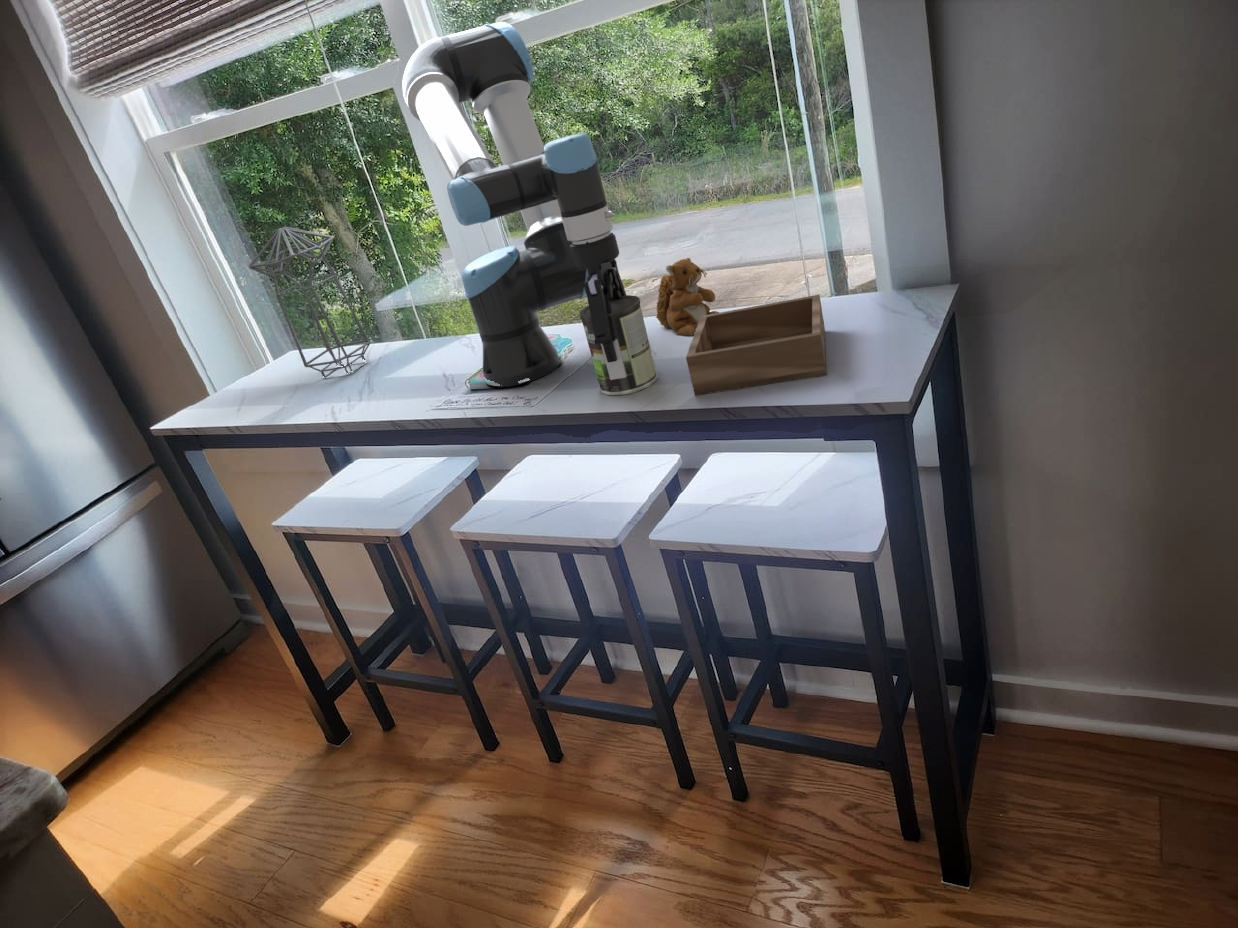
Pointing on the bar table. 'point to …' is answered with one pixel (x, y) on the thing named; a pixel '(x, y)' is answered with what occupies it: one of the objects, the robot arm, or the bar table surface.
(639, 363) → the coffee can
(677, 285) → the stuffed squirrel
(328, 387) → the bar table surface
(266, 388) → the bar table surface
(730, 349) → the walnut box
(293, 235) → the geometric lantern
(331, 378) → the bar table surface
